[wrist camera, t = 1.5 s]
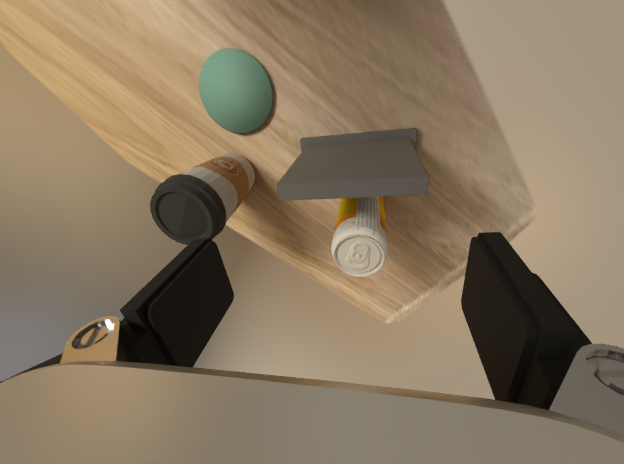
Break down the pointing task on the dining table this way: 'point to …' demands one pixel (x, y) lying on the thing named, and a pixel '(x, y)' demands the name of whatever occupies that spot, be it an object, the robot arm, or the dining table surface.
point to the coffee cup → (202, 198)
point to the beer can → (360, 236)
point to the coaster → (236, 90)
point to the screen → (356, 167)
